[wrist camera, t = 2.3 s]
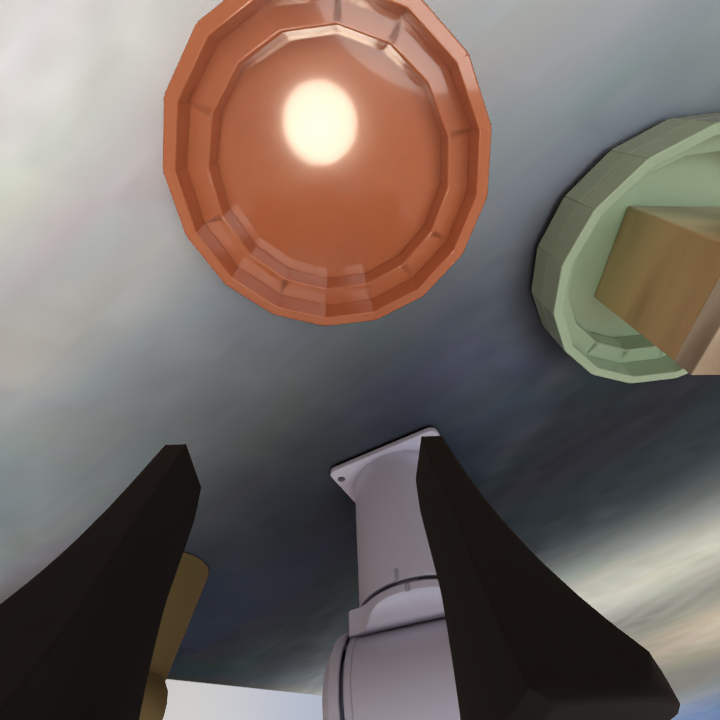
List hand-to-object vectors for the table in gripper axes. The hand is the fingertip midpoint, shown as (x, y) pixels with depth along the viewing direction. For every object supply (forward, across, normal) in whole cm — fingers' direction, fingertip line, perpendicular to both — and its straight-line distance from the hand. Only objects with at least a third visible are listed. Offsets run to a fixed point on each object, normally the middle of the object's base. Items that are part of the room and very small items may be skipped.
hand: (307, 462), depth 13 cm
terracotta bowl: (+10, -1, -7) cm, 12 cm away
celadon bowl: (+10, -17, -3) cm, 20 cm away
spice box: (+10, -17, -3) cm, 20 cm away
